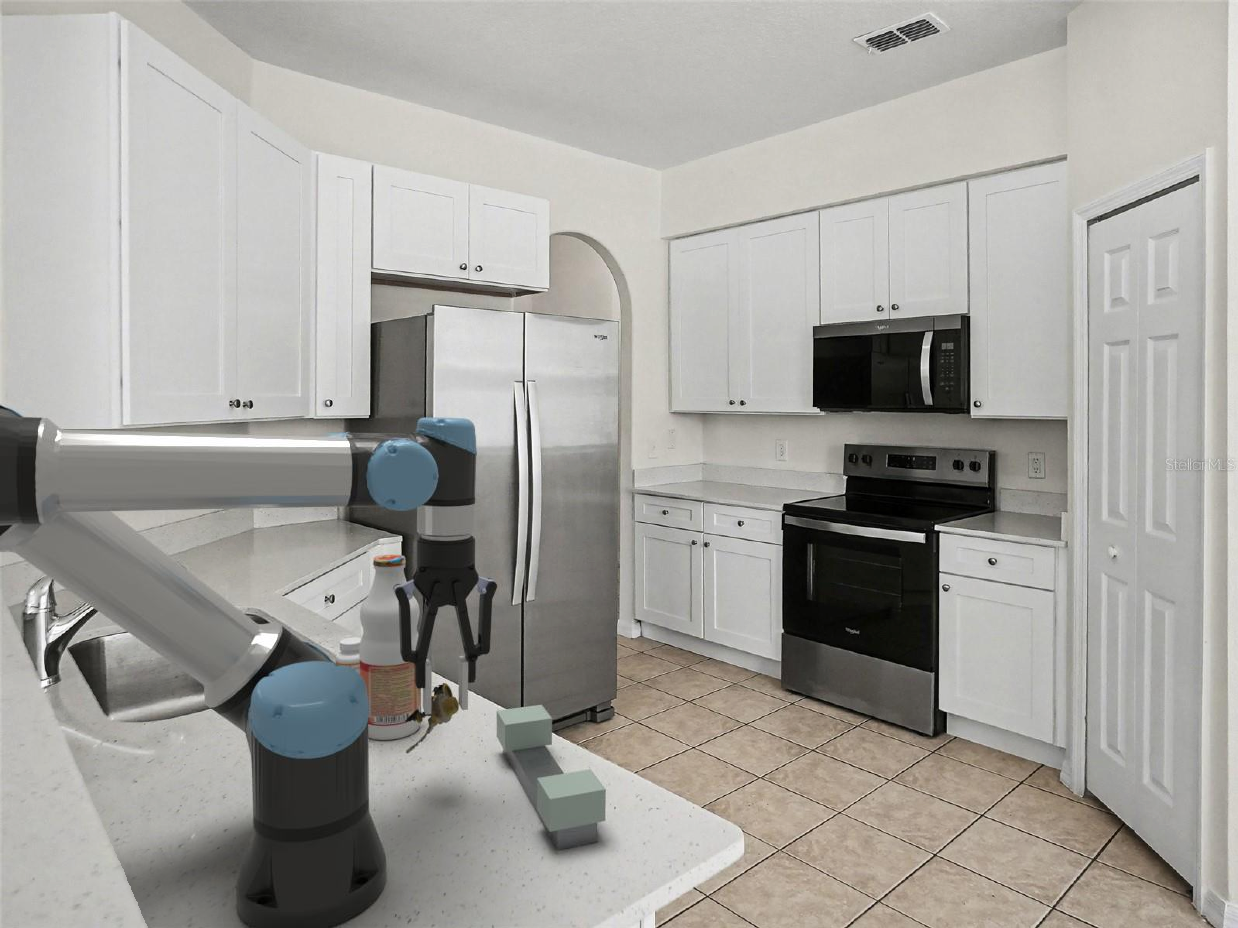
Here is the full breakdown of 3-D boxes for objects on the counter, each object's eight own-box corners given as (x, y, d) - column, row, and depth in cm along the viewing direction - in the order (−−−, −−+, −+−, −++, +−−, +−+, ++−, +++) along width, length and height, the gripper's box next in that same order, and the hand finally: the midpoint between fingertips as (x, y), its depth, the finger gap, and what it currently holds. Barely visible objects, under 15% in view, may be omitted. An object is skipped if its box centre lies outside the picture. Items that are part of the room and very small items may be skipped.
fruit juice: (393, 746, 121) (391, 565, 119) (347, 733, 126) (344, 559, 123) (433, 724, 130) (432, 555, 127) (389, 713, 134) (387, 549, 132)
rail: (557, 850, 94) (557, 830, 94) (503, 751, 120) (503, 735, 120) (597, 842, 96) (597, 822, 96) (535, 746, 122) (535, 730, 122)
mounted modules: (549, 831, 94) (550, 799, 93) (496, 736, 120) (496, 710, 119) (605, 820, 96) (605, 789, 96) (541, 729, 122) (541, 704, 122)
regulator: (434, 761, 98) (473, 697, 112) (422, 733, 97) (463, 672, 112) (381, 773, 100) (427, 709, 114) (369, 746, 99) (416, 685, 113)
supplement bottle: (350, 686, 146) (350, 634, 145) (374, 690, 144) (373, 638, 143) (329, 696, 141) (328, 642, 140) (353, 701, 139) (352, 646, 138)
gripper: (503, 528, 111) (501, 691, 113) (375, 533, 105) (376, 705, 107) (517, 537, 104) (514, 710, 106) (380, 543, 98) (381, 727, 100)
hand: (445, 707), depth 106 cm, fingers closed on regulator, 4 cm apart
